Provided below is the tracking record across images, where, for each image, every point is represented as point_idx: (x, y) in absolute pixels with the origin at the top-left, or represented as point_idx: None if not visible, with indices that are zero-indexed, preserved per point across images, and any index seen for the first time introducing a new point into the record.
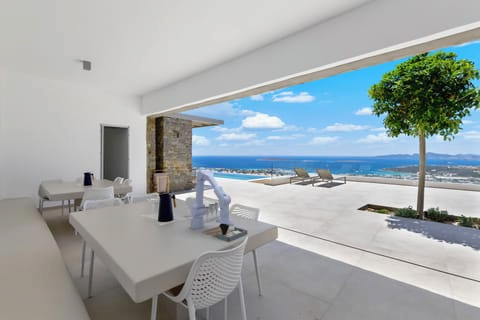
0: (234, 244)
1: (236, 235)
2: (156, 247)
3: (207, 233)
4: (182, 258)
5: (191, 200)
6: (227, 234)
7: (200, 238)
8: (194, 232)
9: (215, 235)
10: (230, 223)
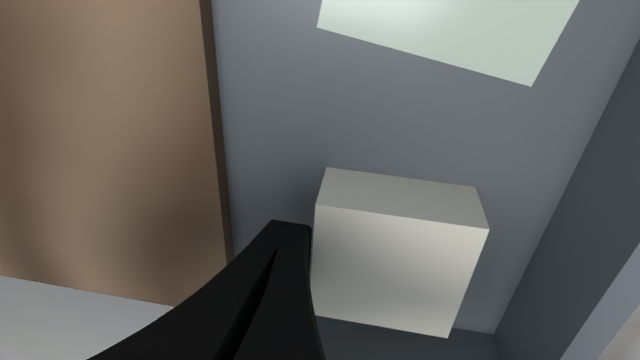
0: (615, 339)
1: (636, 272)
2: None
3: (4, 256)
4: None
5: None
6: (342, 240)
7: (96, 344)
8: None
9: (153, 266)
10: None
